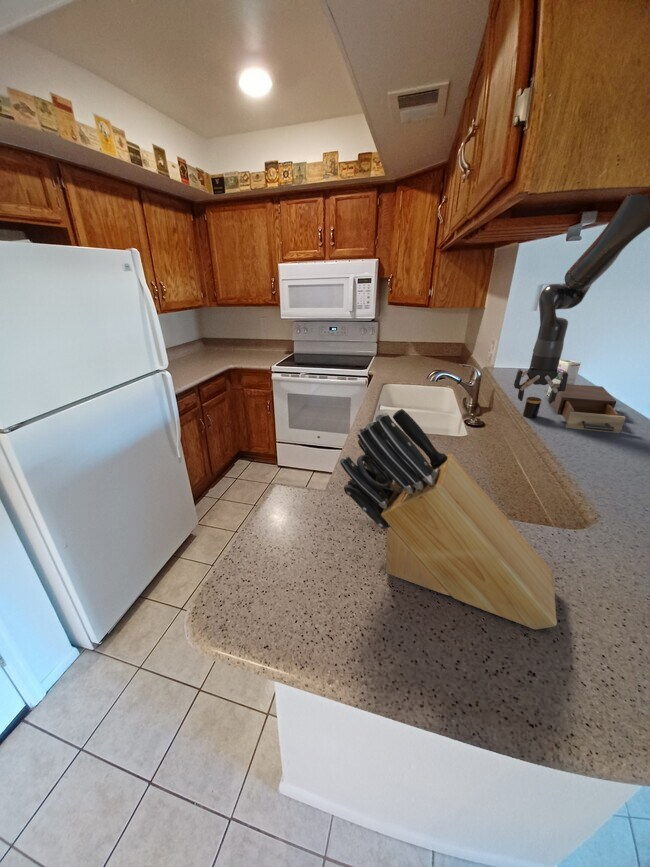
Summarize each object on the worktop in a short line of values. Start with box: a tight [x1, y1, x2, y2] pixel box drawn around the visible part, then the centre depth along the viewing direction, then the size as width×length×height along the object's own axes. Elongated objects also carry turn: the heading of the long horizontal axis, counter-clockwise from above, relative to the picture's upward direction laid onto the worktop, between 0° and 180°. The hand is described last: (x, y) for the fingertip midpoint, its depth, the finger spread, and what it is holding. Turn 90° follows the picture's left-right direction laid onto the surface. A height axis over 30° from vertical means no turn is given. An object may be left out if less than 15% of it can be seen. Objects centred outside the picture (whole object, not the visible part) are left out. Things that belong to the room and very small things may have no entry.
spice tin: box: [522, 396, 543, 420], centre depth 111 cm, size 4×4×8 cm
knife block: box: [339, 408, 558, 630], centre depth 54 cm, size 11×35×31 cm, turn 61°
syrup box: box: [546, 358, 582, 397], centre depth 127 cm, size 6×6×14 cm
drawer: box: [560, 400, 627, 434], centre depth 104 cm, size 18×14×6 cm
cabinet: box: [548, 383, 617, 415], centre depth 115 cm, size 15×15×8 cm
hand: (535, 401), depth 110 cm, fingers open, 8 cm apart
